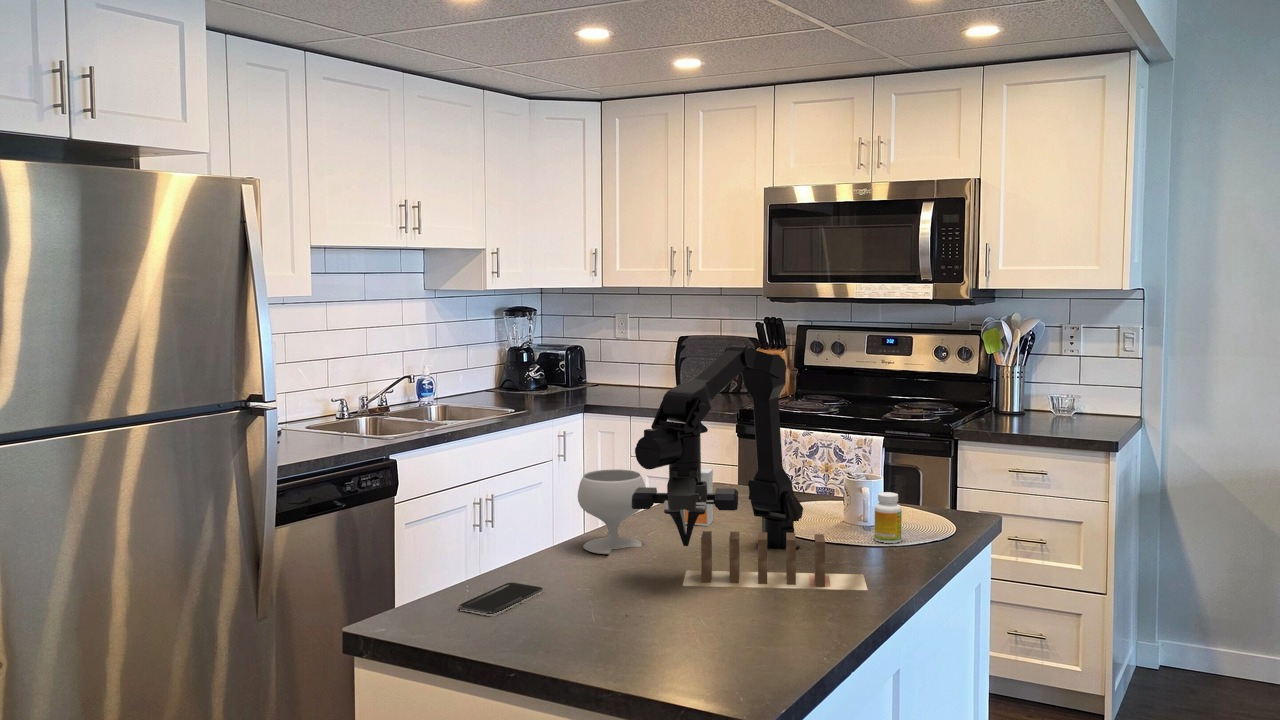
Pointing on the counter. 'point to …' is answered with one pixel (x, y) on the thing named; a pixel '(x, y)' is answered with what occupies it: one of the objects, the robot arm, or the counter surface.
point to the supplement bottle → (888, 518)
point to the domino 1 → (706, 557)
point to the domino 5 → (819, 560)
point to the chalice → (609, 504)
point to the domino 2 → (734, 557)
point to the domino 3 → (762, 557)
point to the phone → (500, 598)
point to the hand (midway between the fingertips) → (686, 545)
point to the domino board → (778, 580)
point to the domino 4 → (791, 558)
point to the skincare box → (708, 516)
